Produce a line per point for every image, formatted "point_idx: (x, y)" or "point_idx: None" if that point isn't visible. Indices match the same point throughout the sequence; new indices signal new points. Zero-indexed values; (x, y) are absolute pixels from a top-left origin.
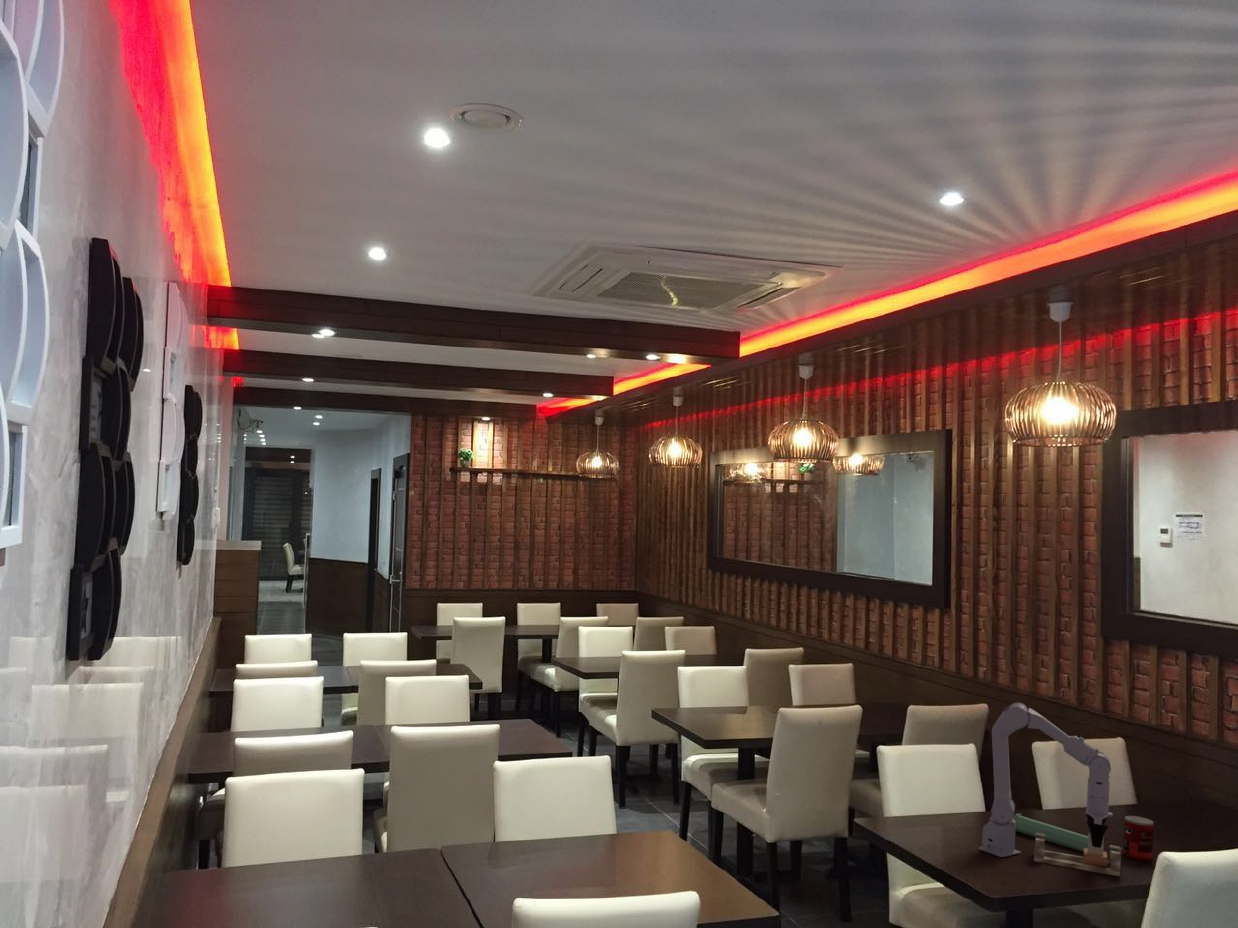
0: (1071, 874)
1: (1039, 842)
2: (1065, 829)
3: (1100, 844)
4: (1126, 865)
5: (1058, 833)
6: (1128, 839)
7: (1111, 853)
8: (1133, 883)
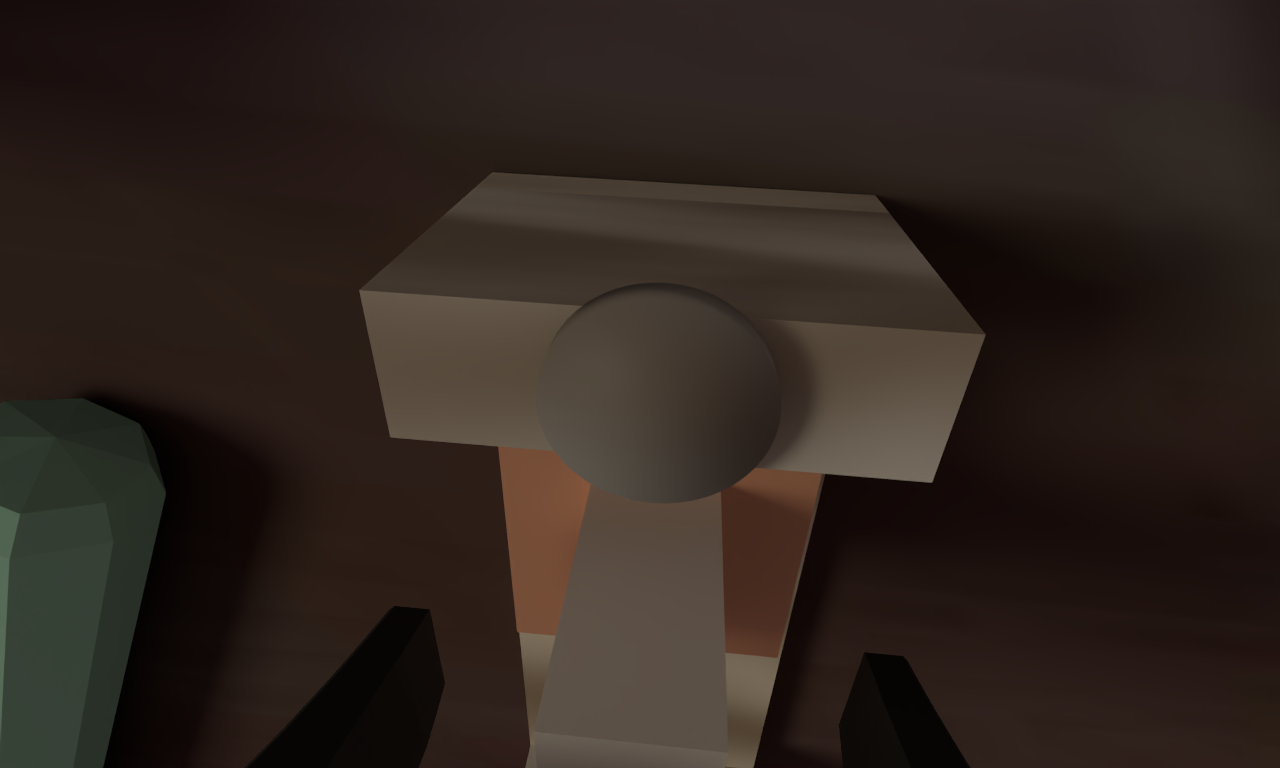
0: (1000, 623)
1: None
2: None
3: (930, 715)
4: (274, 42)
5: (67, 701)
6: None
7: (922, 466)
8: (1181, 30)
